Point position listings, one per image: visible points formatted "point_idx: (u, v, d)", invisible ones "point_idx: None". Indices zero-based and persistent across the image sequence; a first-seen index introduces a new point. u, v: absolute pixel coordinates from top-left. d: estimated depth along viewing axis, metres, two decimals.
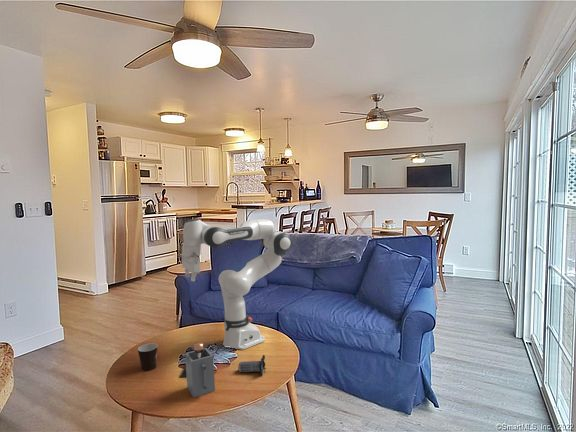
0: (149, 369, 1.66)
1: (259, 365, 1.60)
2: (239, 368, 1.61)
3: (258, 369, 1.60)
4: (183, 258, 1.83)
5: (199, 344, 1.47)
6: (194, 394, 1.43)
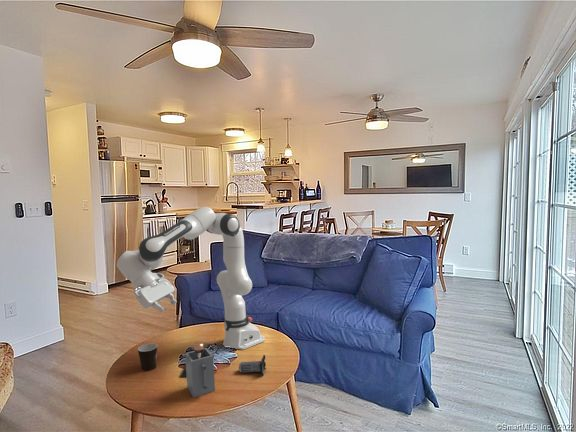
0: (149, 369, 1.66)
1: (260, 365, 1.60)
2: (240, 368, 1.61)
3: (259, 369, 1.60)
4: None
5: (199, 344, 1.47)
6: (194, 394, 1.43)
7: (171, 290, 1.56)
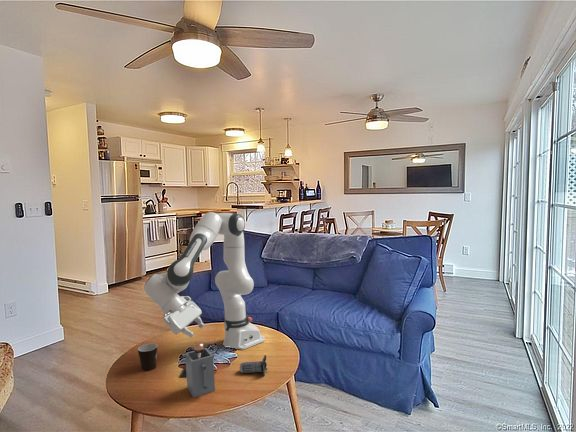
0: (149, 369, 1.66)
1: (261, 366, 1.59)
2: (241, 369, 1.60)
3: (260, 370, 1.59)
4: None
5: (199, 344, 1.47)
6: (194, 394, 1.43)
7: (198, 313, 1.54)
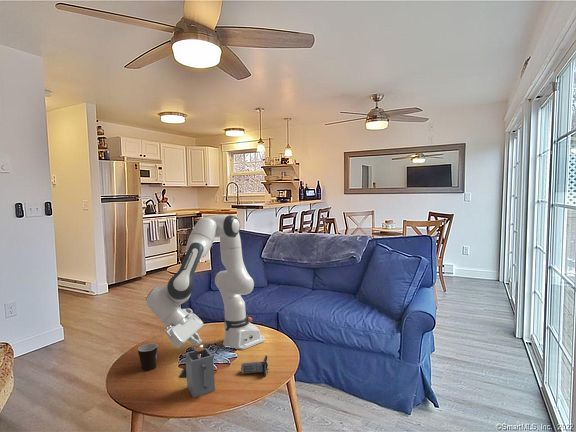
0: (149, 369, 1.66)
1: (262, 366, 1.59)
2: (242, 369, 1.60)
3: (261, 370, 1.59)
4: None
5: (199, 345, 1.47)
6: (194, 394, 1.43)
7: (200, 325, 1.54)
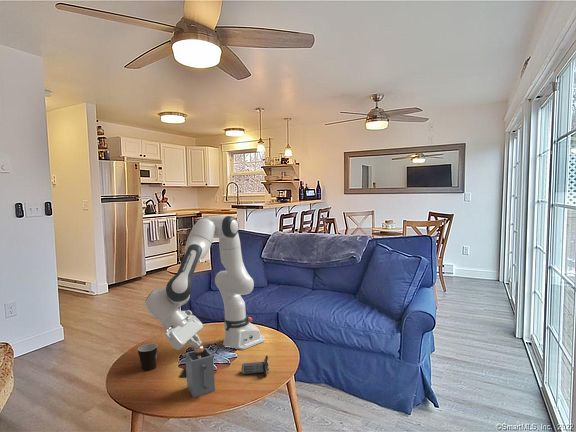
0: (149, 369, 1.66)
1: (263, 366, 1.59)
2: (242, 370, 1.59)
3: (262, 370, 1.59)
4: None
5: (199, 347, 1.47)
6: (194, 394, 1.43)
7: (200, 327, 1.54)
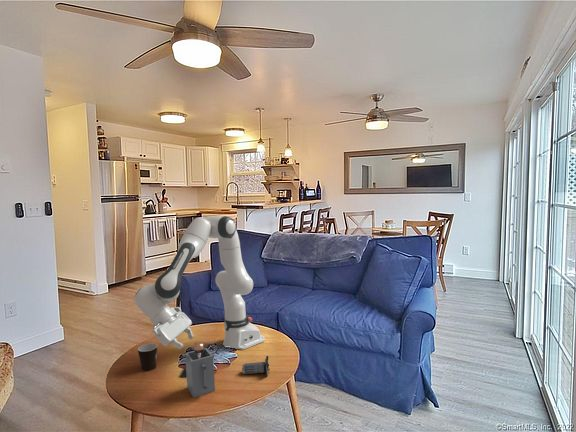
0: (149, 369, 1.66)
1: (263, 366, 1.59)
2: (243, 370, 1.59)
3: (262, 370, 1.59)
4: None
5: (199, 344, 1.47)
6: (194, 394, 1.43)
7: (188, 324, 1.55)
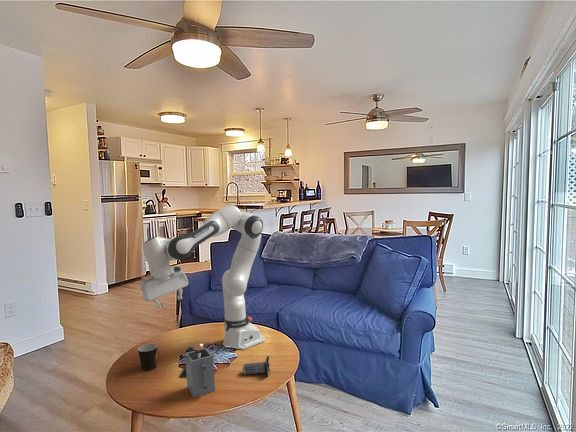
0: (149, 369, 1.66)
1: (264, 366, 1.59)
2: (244, 370, 1.59)
3: (263, 370, 1.59)
4: None
5: (199, 344, 1.47)
6: (194, 394, 1.43)
7: (182, 286, 1.60)
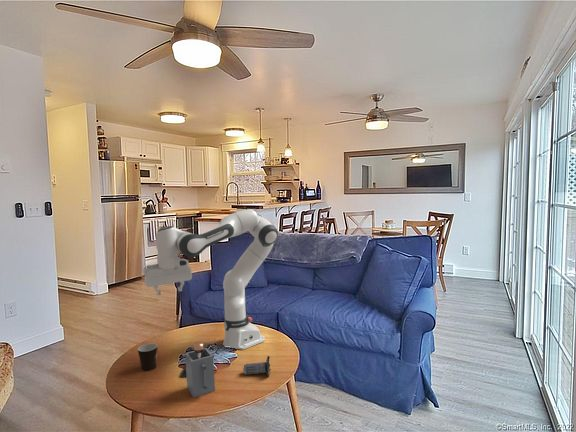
0: (149, 369, 1.66)
1: (265, 366, 1.59)
2: (244, 370, 1.59)
3: (264, 371, 1.58)
4: None
5: (199, 344, 1.47)
6: (194, 394, 1.43)
7: (185, 279, 1.63)
